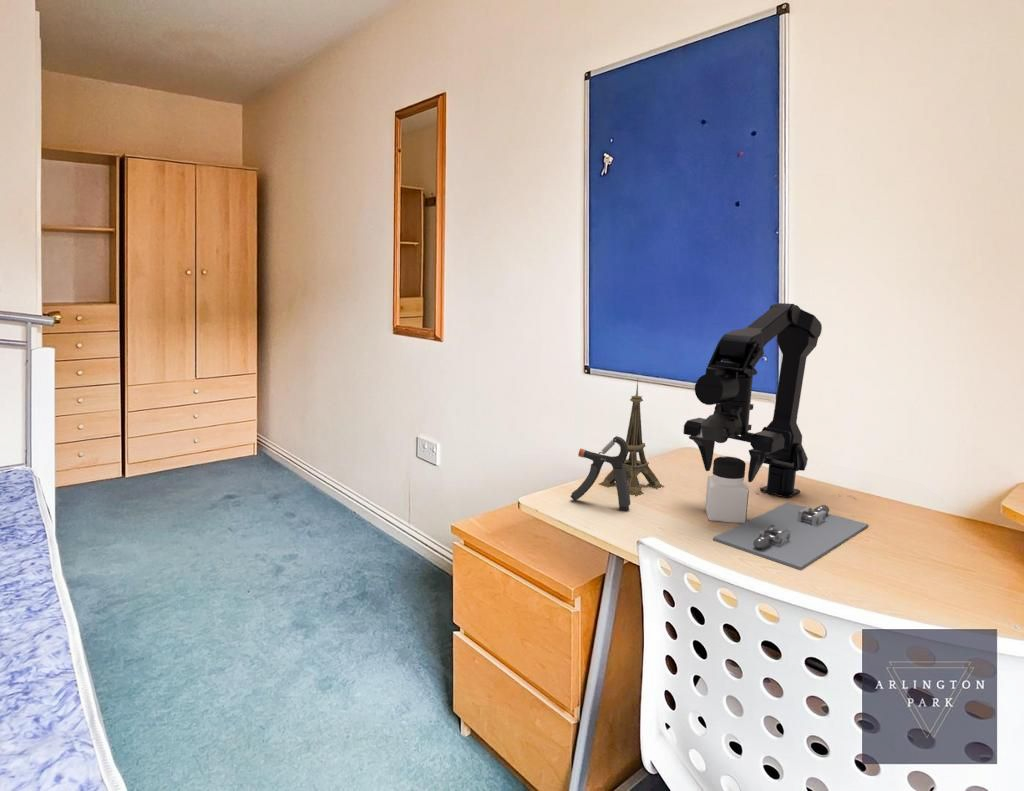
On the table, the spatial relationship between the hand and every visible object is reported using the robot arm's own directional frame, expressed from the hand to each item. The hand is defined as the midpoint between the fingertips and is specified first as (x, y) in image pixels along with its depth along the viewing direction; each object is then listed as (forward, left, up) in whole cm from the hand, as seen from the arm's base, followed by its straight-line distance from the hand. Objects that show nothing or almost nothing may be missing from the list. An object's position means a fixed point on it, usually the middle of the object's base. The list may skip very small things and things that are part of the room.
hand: (728, 476), depth 129 cm
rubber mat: (-2, +13, -8) cm, 16 cm away
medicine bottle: (0, 0, -8) cm, 9 cm away
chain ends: (-2, +13, -8) cm, 16 cm away
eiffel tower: (-1, -24, -9) cm, 26 cm away
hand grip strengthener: (+15, -20, -9) cm, 26 cm away
